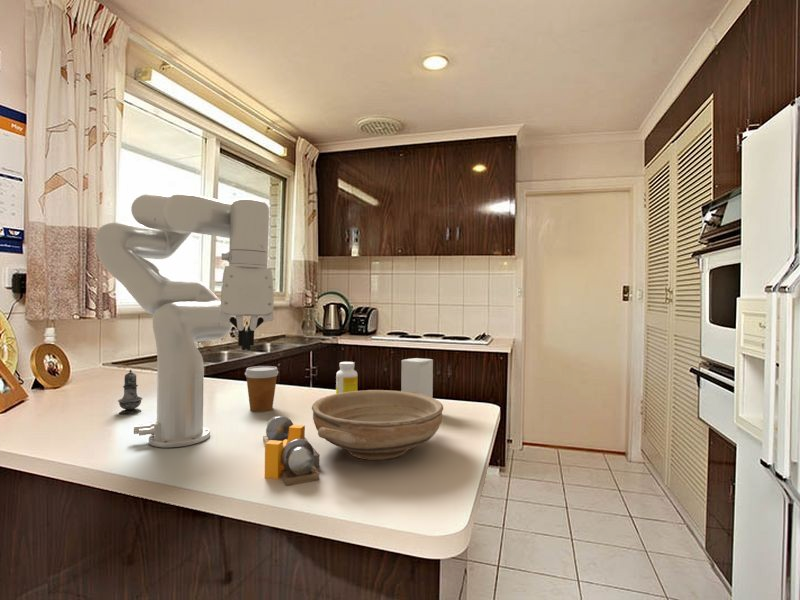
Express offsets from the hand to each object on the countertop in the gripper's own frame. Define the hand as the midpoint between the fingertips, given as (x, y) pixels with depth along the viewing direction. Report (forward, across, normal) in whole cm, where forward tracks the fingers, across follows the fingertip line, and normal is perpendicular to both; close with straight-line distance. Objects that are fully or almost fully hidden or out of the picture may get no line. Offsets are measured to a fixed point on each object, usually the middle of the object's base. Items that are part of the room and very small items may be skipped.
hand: (245, 349), depth 89 cm
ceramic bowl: (+22, +28, -6) cm, 36 cm away
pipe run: (+22, +8, -5) cm, 24 cm away
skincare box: (+22, +48, +17) cm, 56 cm away
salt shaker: (+24, -27, +46) cm, 59 cm away
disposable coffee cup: (+23, +7, +37) cm, 44 cm away
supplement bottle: (+23, +32, +34) cm, 52 cm away
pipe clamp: (+22, +7, -8) cm, 25 cm away
